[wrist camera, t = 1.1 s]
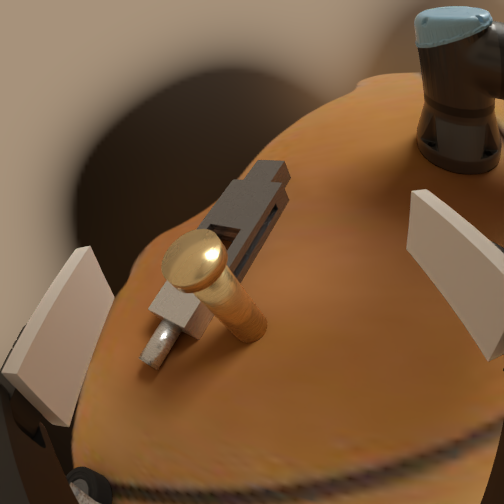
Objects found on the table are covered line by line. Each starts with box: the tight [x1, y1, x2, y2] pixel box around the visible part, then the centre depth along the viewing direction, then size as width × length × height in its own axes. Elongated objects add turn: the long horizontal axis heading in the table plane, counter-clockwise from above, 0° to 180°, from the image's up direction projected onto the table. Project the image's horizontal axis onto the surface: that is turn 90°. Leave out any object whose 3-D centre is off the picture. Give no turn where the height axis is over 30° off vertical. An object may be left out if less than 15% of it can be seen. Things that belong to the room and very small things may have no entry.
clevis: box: [139, 160, 291, 370], centre depth 43 cm, size 35×9×4 cm, turn 150°
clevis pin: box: [162, 229, 267, 343], centre depth 31 cm, size 6×6×14 cm
